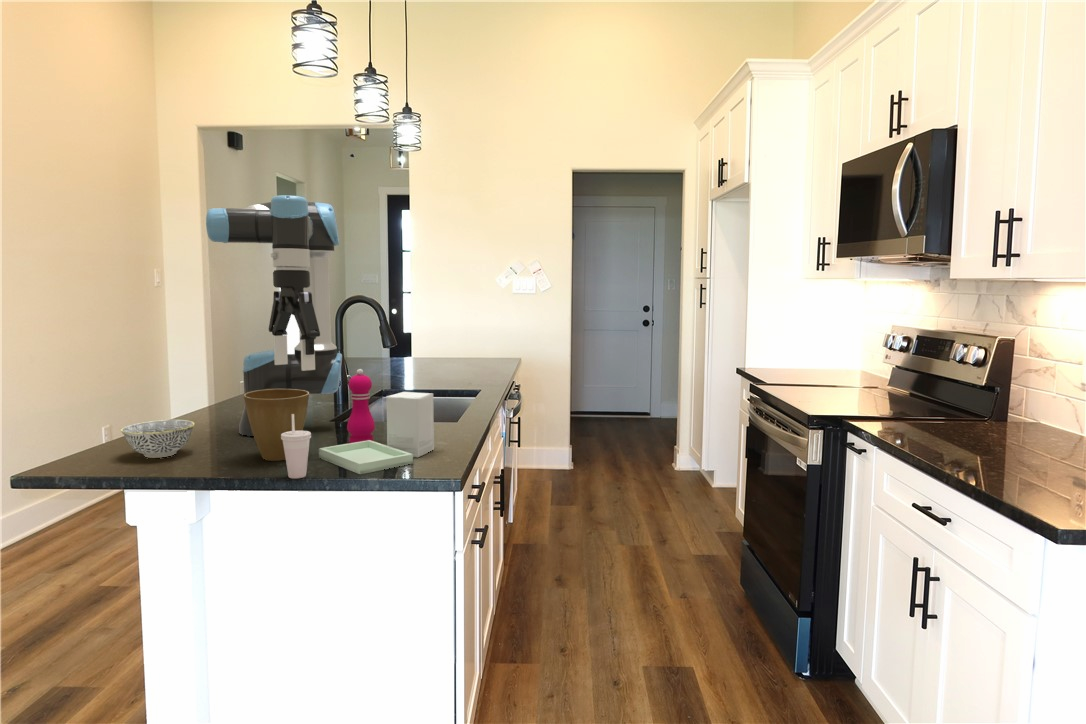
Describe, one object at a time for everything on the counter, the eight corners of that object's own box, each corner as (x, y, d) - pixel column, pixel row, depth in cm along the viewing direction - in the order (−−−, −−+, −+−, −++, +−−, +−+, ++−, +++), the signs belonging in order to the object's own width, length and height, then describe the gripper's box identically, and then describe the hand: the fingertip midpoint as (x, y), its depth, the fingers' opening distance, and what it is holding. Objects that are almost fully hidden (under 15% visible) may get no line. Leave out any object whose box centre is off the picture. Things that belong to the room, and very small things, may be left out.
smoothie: (286, 472, 163) (284, 411, 161) (315, 472, 163) (313, 411, 161) (278, 480, 156) (276, 417, 155) (308, 479, 157) (306, 416, 155)
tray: (319, 458, 176) (318, 448, 176) (369, 449, 185) (369, 440, 185) (359, 474, 161) (359, 464, 161) (412, 463, 171) (412, 454, 171)
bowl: (120, 466, 166) (118, 434, 165) (124, 452, 180) (122, 422, 179) (197, 459, 174) (195, 428, 173) (194, 445, 188) (193, 417, 187)
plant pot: (232, 462, 171) (230, 396, 169) (271, 448, 185) (269, 387, 183) (287, 467, 167) (284, 399, 165) (322, 452, 181) (321, 390, 179)
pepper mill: (368, 446, 188) (366, 371, 186) (342, 445, 190) (340, 370, 187) (379, 440, 195) (378, 367, 193) (355, 439, 197) (353, 366, 194)
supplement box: (435, 450, 185) (434, 392, 183) (418, 458, 177) (417, 398, 175) (404, 447, 188) (403, 390, 186) (386, 455, 179) (385, 395, 178)
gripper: (251, 269, 161) (254, 363, 163) (300, 268, 143) (303, 374, 145) (283, 270, 166) (286, 361, 168) (335, 269, 148) (337, 371, 150)
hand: (294, 367), depth 157 cm, fingers open, 13 cm apart
